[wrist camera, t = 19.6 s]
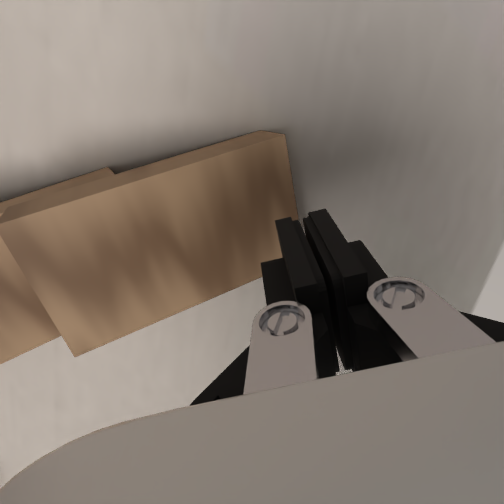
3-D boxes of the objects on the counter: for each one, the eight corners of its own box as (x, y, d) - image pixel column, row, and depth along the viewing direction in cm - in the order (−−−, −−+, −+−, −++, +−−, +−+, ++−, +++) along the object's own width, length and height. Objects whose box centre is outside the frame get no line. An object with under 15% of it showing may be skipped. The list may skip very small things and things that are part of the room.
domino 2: (304, 258, 17) (74, 357, 14) (281, 241, 19) (76, 325, 16) (285, 134, 15) (-6, 225, 12) (260, 130, 17) (7, 207, 14)
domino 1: (163, 287, 18) (-91, 407, 14) (152, 270, 20) (-74, 371, 16) (114, 174, 15) (-217, 287, 11) (107, 167, 17) (-178, 261, 13)
